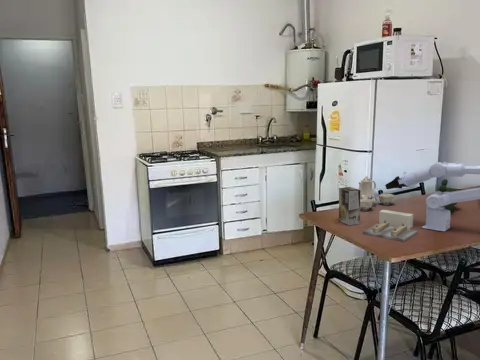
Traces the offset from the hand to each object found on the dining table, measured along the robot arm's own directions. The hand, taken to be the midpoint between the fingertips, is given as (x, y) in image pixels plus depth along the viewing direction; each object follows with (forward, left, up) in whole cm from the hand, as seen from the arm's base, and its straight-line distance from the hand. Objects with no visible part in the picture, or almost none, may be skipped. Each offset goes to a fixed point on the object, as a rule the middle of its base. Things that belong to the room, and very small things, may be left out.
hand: (389, 186), depth 200 cm
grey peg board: (-8, +17, -17) cm, 25 cm away
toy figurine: (-16, -33, -17) cm, 40 cm away
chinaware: (+20, -22, -17) cm, 34 cm away
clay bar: (-5, +4, -17) cm, 18 cm away
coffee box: (+14, +12, -17) cm, 25 cm away
